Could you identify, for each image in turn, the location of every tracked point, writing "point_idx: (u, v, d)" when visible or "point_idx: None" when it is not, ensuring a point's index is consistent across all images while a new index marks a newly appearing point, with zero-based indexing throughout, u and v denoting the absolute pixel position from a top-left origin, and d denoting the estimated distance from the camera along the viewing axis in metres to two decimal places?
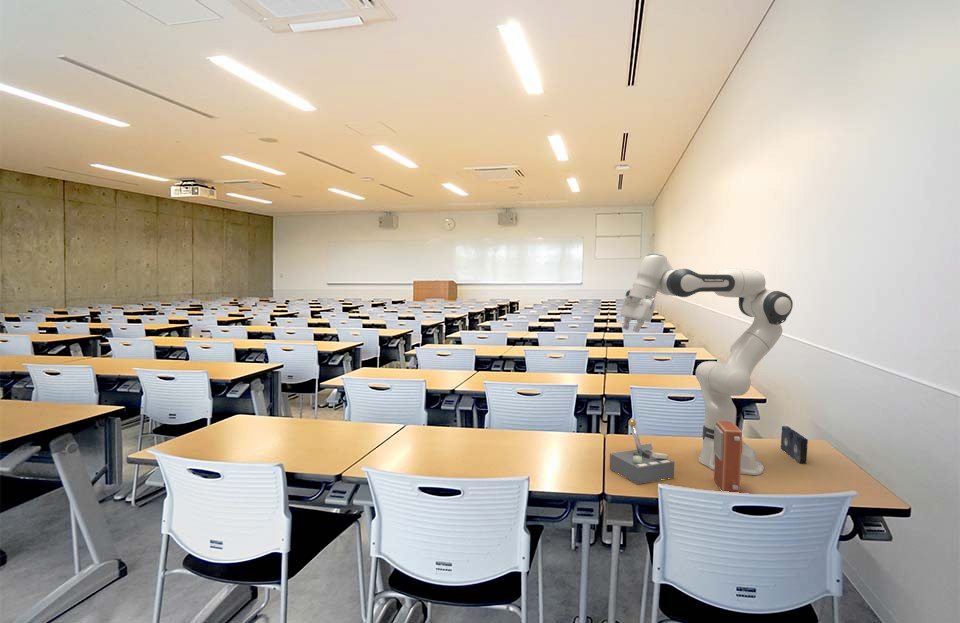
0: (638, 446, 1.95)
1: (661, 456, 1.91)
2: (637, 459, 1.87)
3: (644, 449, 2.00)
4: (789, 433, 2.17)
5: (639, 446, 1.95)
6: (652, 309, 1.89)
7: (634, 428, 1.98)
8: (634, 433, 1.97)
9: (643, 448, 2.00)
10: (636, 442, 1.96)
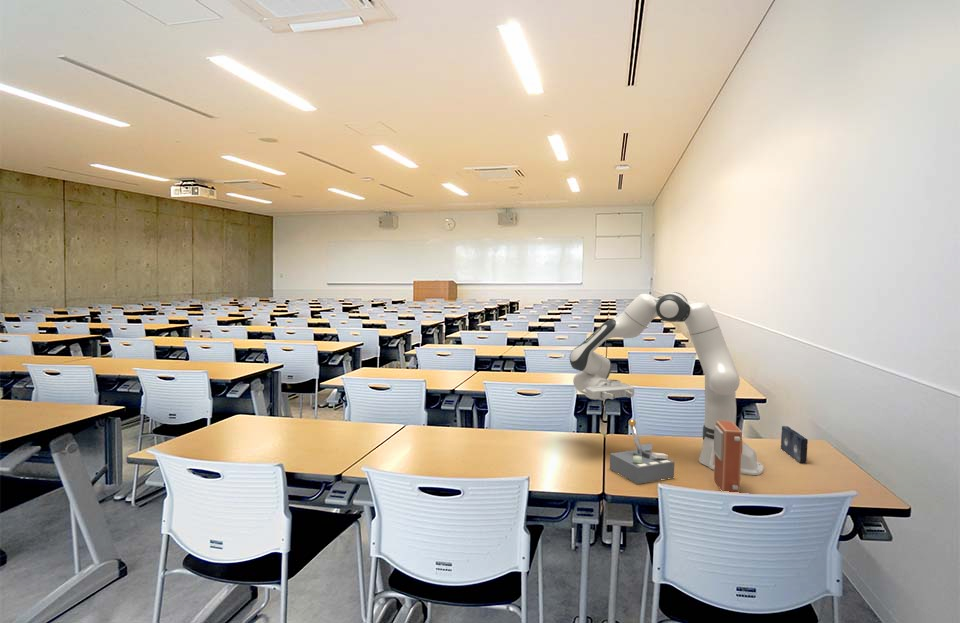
0: (638, 446, 1.95)
1: (661, 456, 1.91)
2: (637, 459, 1.87)
3: (644, 449, 2.00)
4: (789, 433, 2.17)
5: (639, 446, 1.95)
6: (587, 390, 2.09)
7: (634, 428, 1.98)
8: (634, 433, 1.97)
9: (643, 448, 2.00)
10: (636, 442, 1.96)
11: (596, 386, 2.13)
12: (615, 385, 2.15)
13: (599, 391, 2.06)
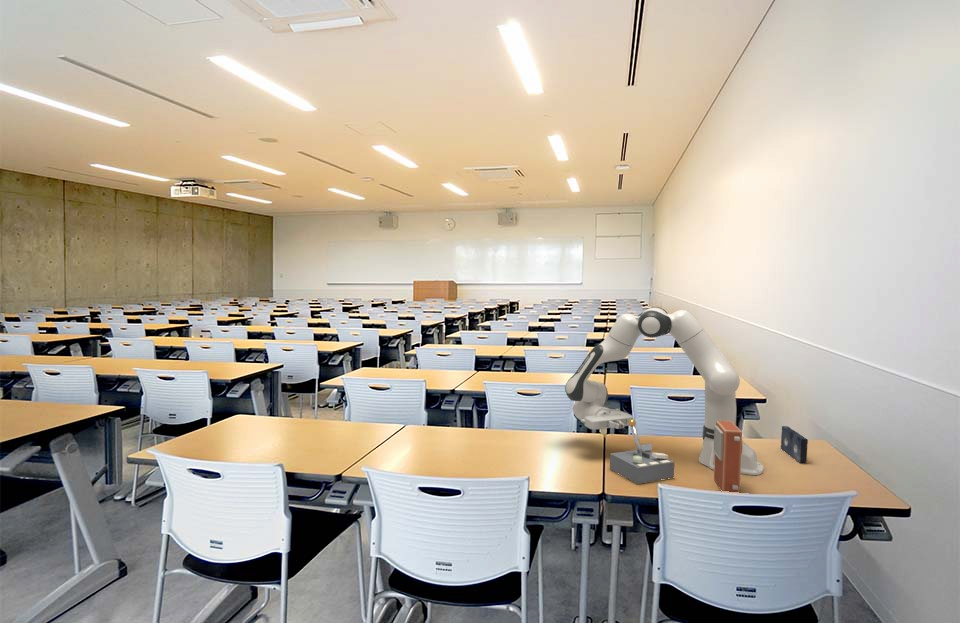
0: (638, 446, 1.95)
1: (661, 456, 1.91)
2: (637, 459, 1.87)
3: (644, 449, 2.00)
4: (789, 433, 2.17)
5: (639, 446, 1.95)
6: (586, 420, 2.10)
7: (634, 428, 1.98)
8: (634, 433, 1.97)
9: (643, 448, 2.00)
10: (636, 442, 1.96)
11: (595, 415, 2.14)
12: (614, 414, 2.16)
13: (598, 421, 2.07)
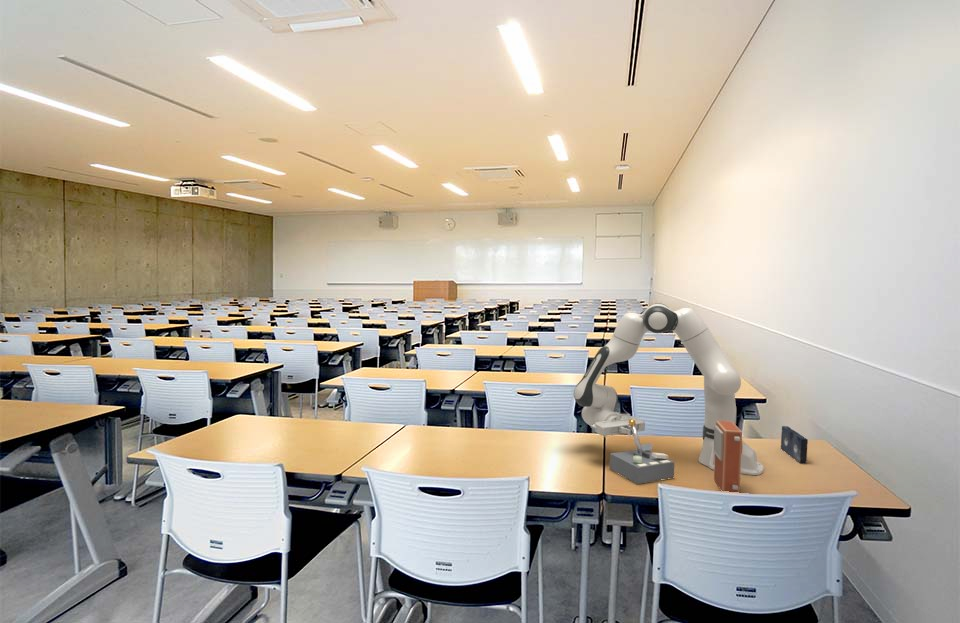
0: (638, 446, 1.95)
1: (661, 456, 1.91)
2: (637, 459, 1.87)
3: (644, 449, 2.00)
4: (789, 433, 2.17)
5: (639, 446, 1.95)
6: (596, 426, 2.04)
7: (634, 428, 1.98)
8: (634, 433, 1.97)
9: (643, 448, 2.00)
10: (636, 442, 1.96)
11: (606, 421, 2.08)
12: (625, 419, 2.10)
13: (609, 427, 2.01)
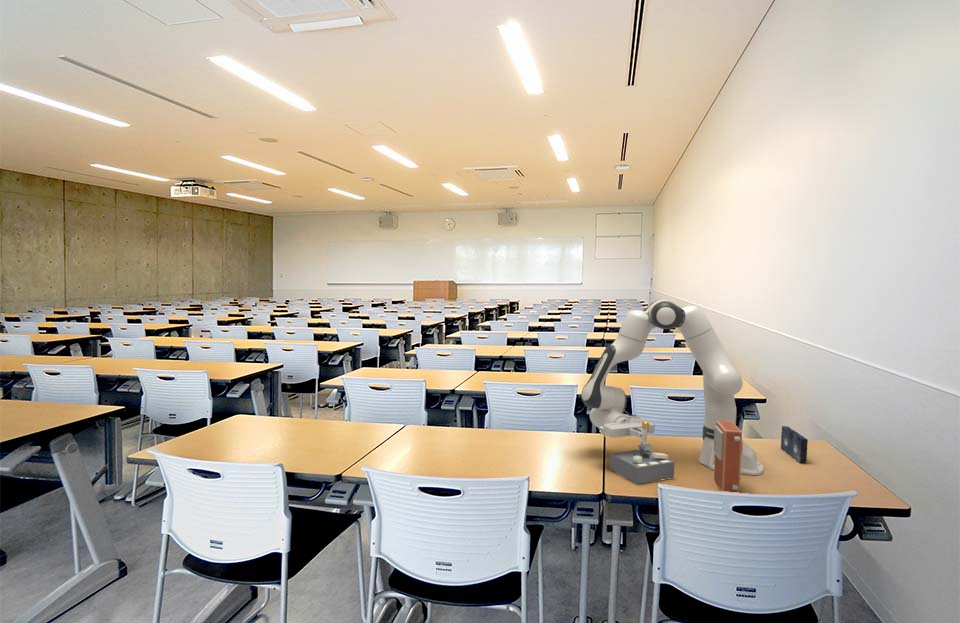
0: (642, 448, 1.93)
1: (661, 456, 1.91)
2: (637, 459, 1.87)
3: None
4: (789, 433, 2.17)
5: (643, 448, 1.93)
6: (605, 427, 1.99)
7: (645, 431, 1.92)
8: (643, 435, 1.92)
9: None
10: (642, 444, 1.93)
11: (614, 422, 2.02)
12: (634, 421, 2.05)
13: (618, 429, 1.95)
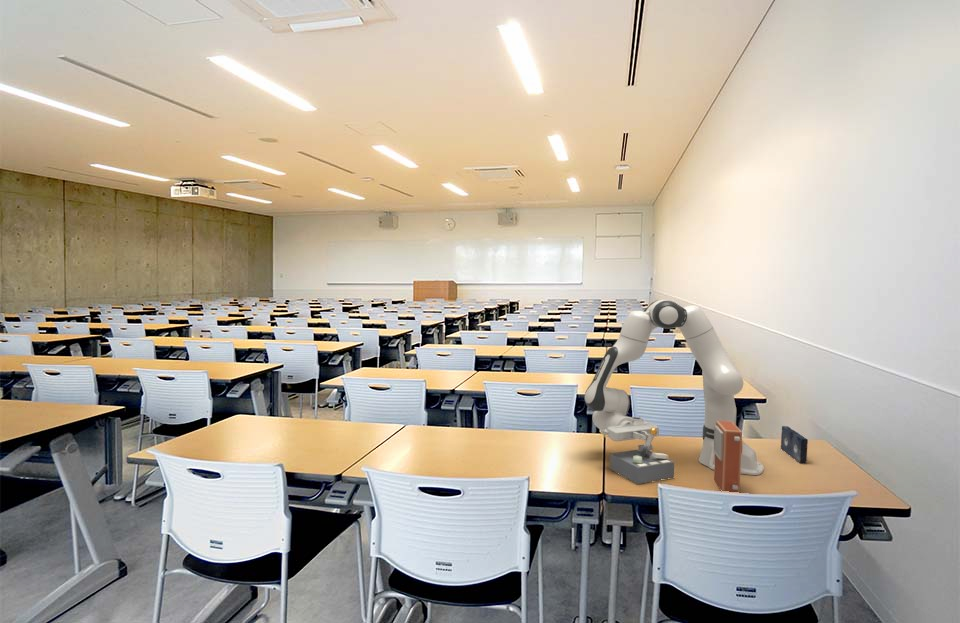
0: (644, 450, 1.92)
1: (661, 456, 1.91)
2: (637, 459, 1.87)
3: None
4: (789, 433, 2.17)
5: (645, 451, 1.92)
6: (609, 431, 1.96)
7: (651, 437, 1.89)
8: (648, 441, 1.90)
9: None
10: (645, 447, 1.91)
11: (618, 425, 2.00)
12: (638, 424, 2.02)
13: (622, 432, 1.93)
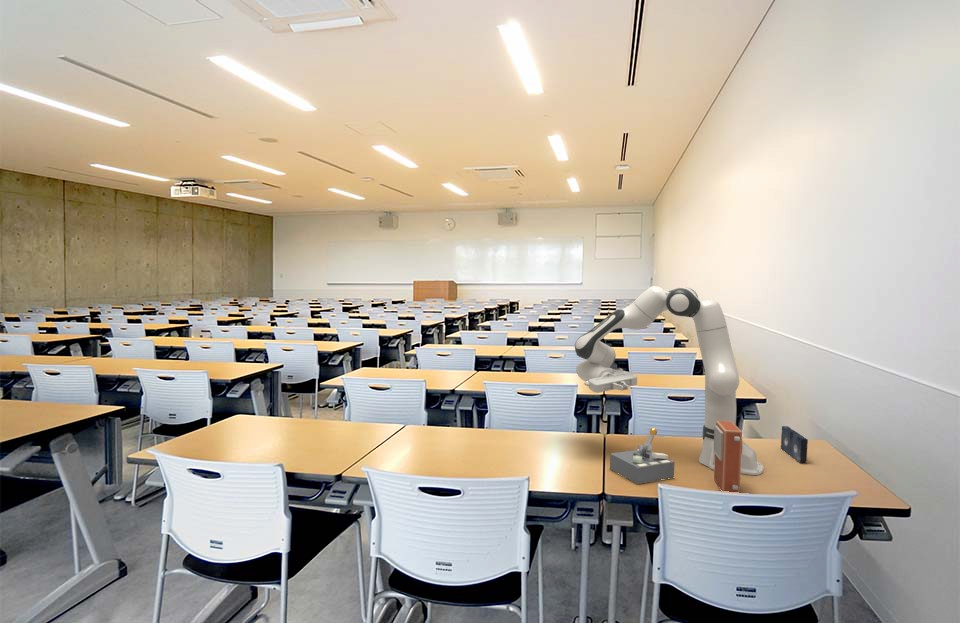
0: (644, 450, 1.92)
1: (661, 456, 1.91)
2: (637, 459, 1.87)
3: None
4: (789, 433, 2.17)
5: (645, 451, 1.92)
6: (590, 383, 2.09)
7: (651, 437, 1.89)
8: (648, 441, 1.90)
9: None
10: (645, 447, 1.91)
11: (599, 377, 2.13)
12: (618, 374, 2.15)
13: (602, 384, 2.06)
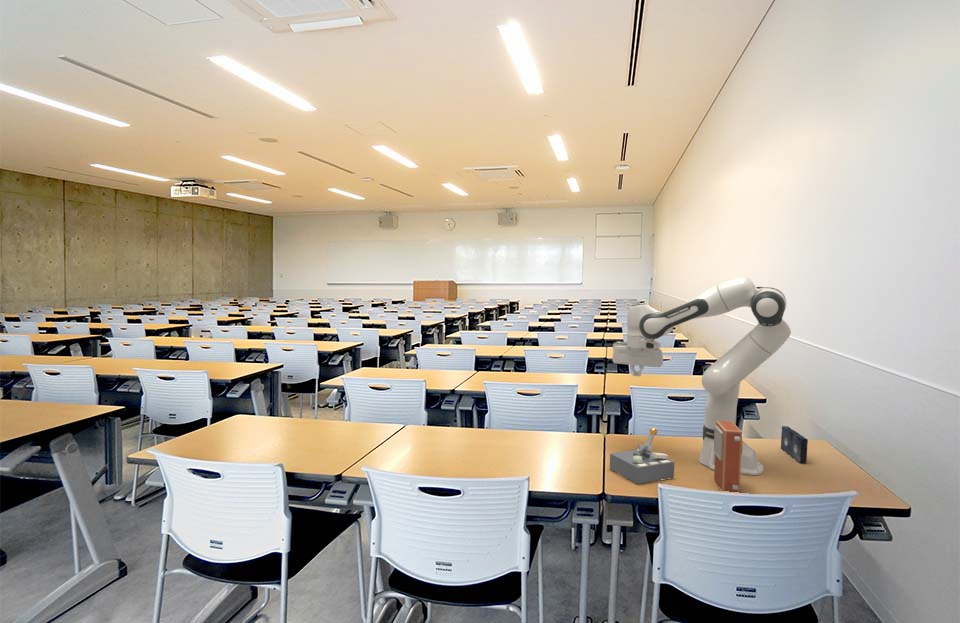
0: (644, 450, 1.92)
1: (661, 456, 1.91)
2: (637, 459, 1.87)
3: None
4: (789, 433, 2.17)
5: (645, 451, 1.92)
6: None
7: (651, 437, 1.89)
8: (648, 441, 1.90)
9: None
10: (645, 447, 1.91)
11: (626, 348, 2.20)
12: (647, 352, 2.16)
13: (619, 363, 2.23)
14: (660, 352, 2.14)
